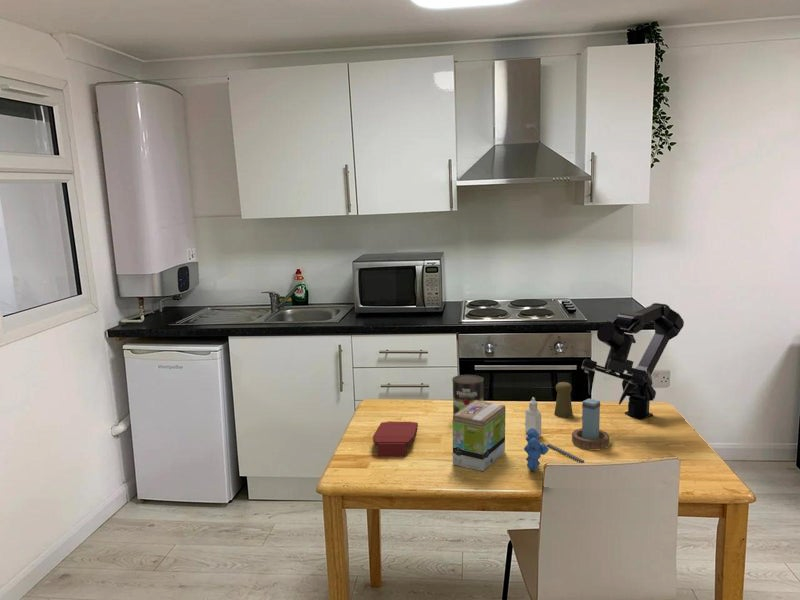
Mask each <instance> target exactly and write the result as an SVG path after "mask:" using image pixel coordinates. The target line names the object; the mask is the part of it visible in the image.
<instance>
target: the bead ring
mask: <svg viewBox="0 0 800 600" xmlns="http://www.w3.org/2000/svg"><path fill="white" fill-rule="evenodd" d="M610 439H611V438H610V434H609V433H608V432H606V431H604V430H601V429H599V440H587V439H583V438H582V428H578V429H574V430H573V432H571V442H572V444H573V445H574V446H575V445H576V447H577V446H578V448H580V449H583V448H584V449H583V450H588V449H601V450H603V449H602V448H604V449H607V448H608V447H609V446H610V442H611V441H610ZM608 445H609V446H608ZM606 447H607V448H606Z"/></svg>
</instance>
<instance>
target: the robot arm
mask: <svg viewBox="0 0 800 600" xmlns="http://www.w3.org/2000/svg"><path fill="white" fill-rule="evenodd" d="M651 322H653V327H654V328H653V329H654V334H653V336H652V338H651V340H650V342H649V344H648V346H647V348H646V350H645V351H644V353H643V355H642V357H641V359H640V360H639V363H638V364H637V366H636V367H635V368H634V366H633V365H634V361H632V360H630V359H628V357H629V354H630V351H631V349H632V344H637V343H636V338H635V337H634V334H638V333H640V332H641V331H642V330H643V329H644V325H646V324H649V323H651ZM684 325H685V321H684V319H683V318H682V316H681V314H680V313H679V312H676V311H675V310H674V309H672V308H671V307H670V305H668V304H666V303H658V302H653V303H652V304H651V305H649V306H646V307H644V308H641V309H640V310H637V311H634V312H621V313H618V314H617V315H616V316H615V318H614V319H613V320H612V321H610V320H608V321H606V323H605V324H604V325H602V326H600V327H599V329H597V331H596V336H597V339H598V341H599V342H602V343H603V344H605V345H607V346H608V347H610V348H609V351H608V354H607V357H606V361H605V364H604V366H602V365H599V364H598V362H597V361H595V360H592V359H588V358H585V359H584V360H583V361H582V364H581V367H580V369H582V370H584V373H586V374H587V380H588V395H591V393H592V390H593V387H594V386H593V385H594V380H595V374H596V371H597V372H599V373H602V374H604V375H605V374H606V375H608V376H612V377H614V378H618V379H620V380H622V382H621V387H622V391H623V392H622V394H621V395H620V398H619V402H618V405H621V404H622V403H623V402H624V400H625V399H626V397H628V405H627V411H625V412H624V414H625V415H627V416H630V417H633V418H635V419H638V420H642V419H646V418H648V417H652V416H654V414H653V413H652V412H650V402H652V401H654V400H655V399H656V395H657V391H656V390H655V388H653V378H652V377H653V376H652V374H653V371H654V370H655V368H656V367H657V364H658V362H659V360H660V359H661V356H662V355H663V353H664V351H665V349H666V347H667V345H668V343H669V341H670V340H672V339H673V338H675V337H677V336H678V335H679V334H680V332H681V330H682V329H683V327H684ZM625 371H626V373H625Z"/></svg>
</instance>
